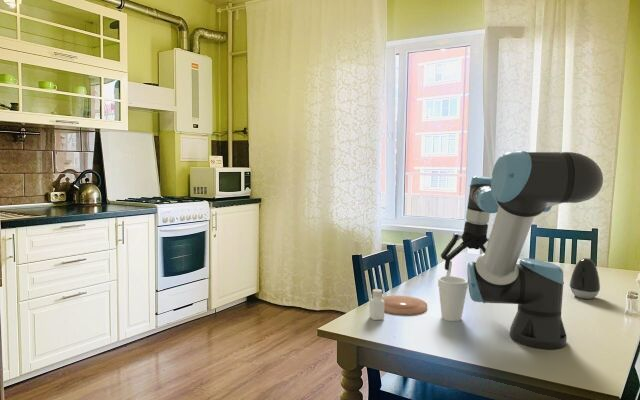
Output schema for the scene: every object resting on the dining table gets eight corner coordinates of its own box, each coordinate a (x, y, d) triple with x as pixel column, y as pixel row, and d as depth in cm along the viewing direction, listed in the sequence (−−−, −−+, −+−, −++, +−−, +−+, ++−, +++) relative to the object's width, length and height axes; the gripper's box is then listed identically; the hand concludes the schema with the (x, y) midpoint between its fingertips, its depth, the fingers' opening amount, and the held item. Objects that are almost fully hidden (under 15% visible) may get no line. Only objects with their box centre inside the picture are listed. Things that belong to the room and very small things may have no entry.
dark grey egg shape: (602, 296, 181) (605, 258, 179) (595, 302, 173) (598, 262, 172) (573, 291, 188) (575, 254, 186) (565, 296, 180) (568, 258, 179)
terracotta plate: (432, 315, 157) (432, 311, 157) (378, 314, 158) (378, 310, 158) (421, 299, 175) (421, 295, 175) (373, 298, 176) (373, 294, 175)
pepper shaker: (373, 321, 151) (374, 292, 150) (368, 316, 155) (369, 289, 154) (384, 320, 152) (385, 291, 151) (380, 315, 156) (380, 288, 155)
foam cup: (467, 324, 150) (469, 284, 148) (437, 321, 151) (439, 282, 150) (464, 314, 159) (465, 277, 158) (436, 312, 161) (437, 275, 159)
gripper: (511, 223, 160) (501, 281, 164) (437, 215, 163) (430, 273, 166) (518, 228, 153) (507, 289, 157) (440, 220, 155) (432, 280, 159)
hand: (467, 281), depth 162 cm, fingers open, 13 cm apart
